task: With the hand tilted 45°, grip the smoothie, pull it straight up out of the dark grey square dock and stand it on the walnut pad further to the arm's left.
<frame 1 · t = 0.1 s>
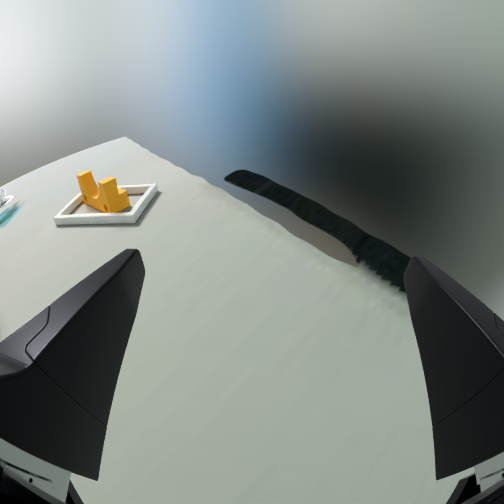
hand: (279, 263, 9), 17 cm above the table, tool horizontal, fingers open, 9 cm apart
pipe clamp: (105, 205, 48), resting in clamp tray
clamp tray: (105, 206, 47), on the table
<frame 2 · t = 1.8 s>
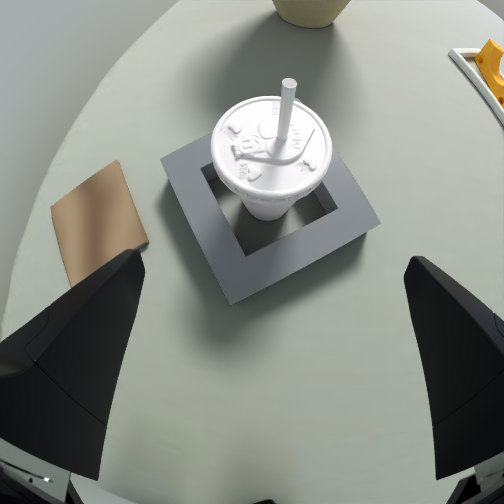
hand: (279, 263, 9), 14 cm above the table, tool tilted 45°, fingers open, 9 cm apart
smoothie: (267, 200, 23), resting in dock
dock: (267, 199, 23), on the table
plant pot: (304, 16, 27), on the table
pipe clamp: (493, 88, 25), resting in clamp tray
pad: (94, 223, 23), on the table
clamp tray: (497, 94, 25), on the table
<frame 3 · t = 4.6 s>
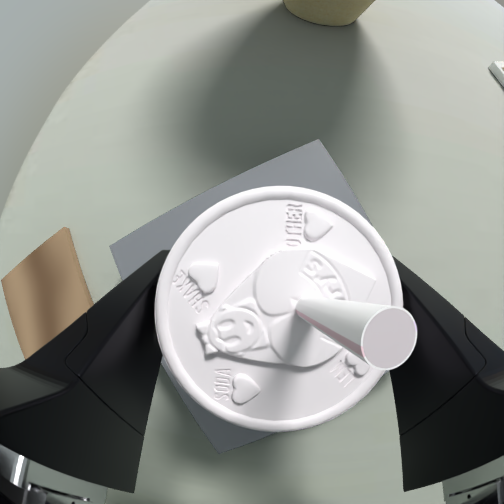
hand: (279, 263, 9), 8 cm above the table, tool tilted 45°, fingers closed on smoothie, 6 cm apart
smoothie: (269, 299, 16), resting in dock, touching gripper
dock: (269, 299, 16), on the table
plant pot: (318, 10, 20), on the table
pad: (48, 310, 16), on the table
when the fingers open (9 cm above the table, at t = 9.3 s): smoothie stays where it is, resting on pad.
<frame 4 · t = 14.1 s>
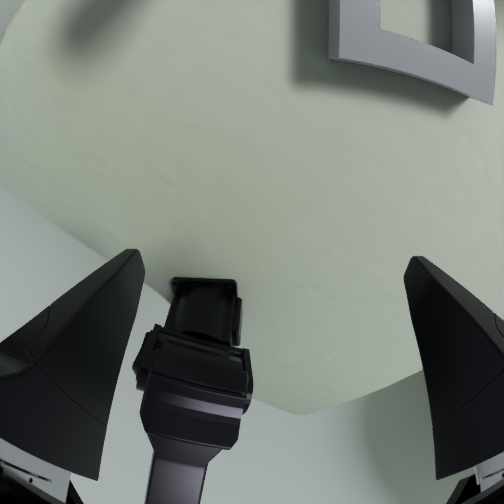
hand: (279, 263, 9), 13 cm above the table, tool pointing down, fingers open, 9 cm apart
dock: (411, 3, 11), on the table
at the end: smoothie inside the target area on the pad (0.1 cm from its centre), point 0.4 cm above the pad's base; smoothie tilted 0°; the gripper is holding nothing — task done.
